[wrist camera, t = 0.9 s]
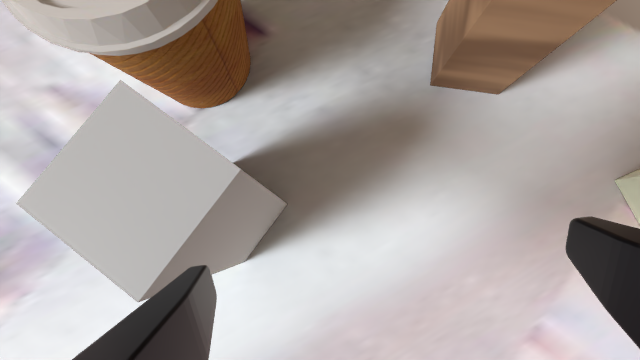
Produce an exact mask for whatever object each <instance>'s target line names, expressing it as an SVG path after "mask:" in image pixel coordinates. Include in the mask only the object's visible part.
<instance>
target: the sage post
mask: <svg viewBox="0 0 640 360" xmlns="http://www.w3.org/2000/svg"><path fill="white" fill-rule="evenodd" d="M614 181H615V182H616V184H617V186H618V188H619V189H620V191H621V193H622V195H623V196H624V198H625V200H626V202H627V204H628V205H629V207H630V209H631V211H632V212H633V214H634V216H635V218H636V219H637V221H638V223H639V225H640V169H638V170H636V171H634V172H632V173H630V174H627V175H625V176H623V177H621V178H619V179H616V180H614Z"/></svg>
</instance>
